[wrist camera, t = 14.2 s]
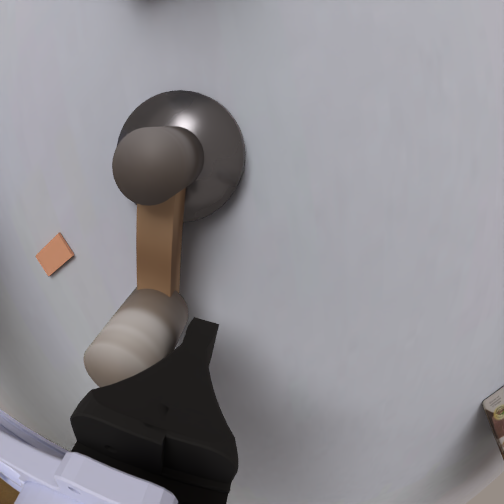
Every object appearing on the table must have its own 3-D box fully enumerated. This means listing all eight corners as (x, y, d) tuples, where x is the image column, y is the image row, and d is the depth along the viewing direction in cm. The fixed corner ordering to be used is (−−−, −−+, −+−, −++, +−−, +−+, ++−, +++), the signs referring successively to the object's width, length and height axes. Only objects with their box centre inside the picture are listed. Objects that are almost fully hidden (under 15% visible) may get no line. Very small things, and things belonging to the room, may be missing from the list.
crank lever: (144, 124, 12) (61, 130, 7) (210, 129, 12) (155, 133, 7) (140, 315, 16) (91, 389, 11) (192, 327, 16) (157, 410, 11)
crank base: (165, 239, 15) (160, 244, 15) (103, 141, 14) (95, 142, 13) (270, 177, 14) (269, 180, 13) (200, 67, 12) (196, 64, 11)
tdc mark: (50, 275, 17) (48, 276, 17) (37, 254, 17) (35, 256, 17) (74, 254, 16) (72, 256, 16) (60, 232, 16) (58, 233, 16)
